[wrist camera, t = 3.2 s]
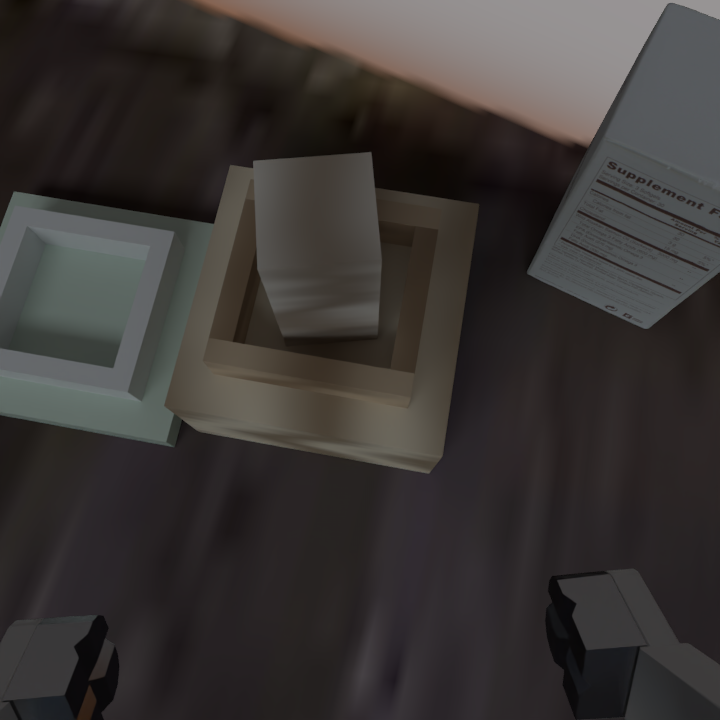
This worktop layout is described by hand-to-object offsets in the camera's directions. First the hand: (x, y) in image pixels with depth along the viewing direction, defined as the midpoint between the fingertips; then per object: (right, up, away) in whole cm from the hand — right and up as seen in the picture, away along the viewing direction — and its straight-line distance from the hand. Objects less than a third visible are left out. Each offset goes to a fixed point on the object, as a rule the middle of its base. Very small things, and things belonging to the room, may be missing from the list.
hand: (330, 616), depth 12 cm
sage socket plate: (-14, +7, +23) cm, 28 cm away
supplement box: (+14, +11, +25) cm, 30 cm away
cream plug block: (-1, +7, +17) cm, 19 cm away
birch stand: (-1, +6, +23) cm, 24 cm away
